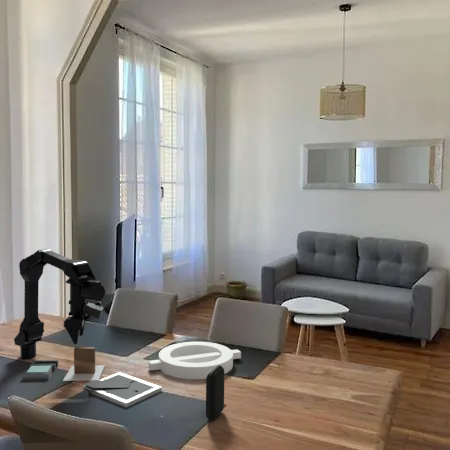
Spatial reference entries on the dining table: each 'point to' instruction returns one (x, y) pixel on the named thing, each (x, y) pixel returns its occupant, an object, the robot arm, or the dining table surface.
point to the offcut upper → (39, 369)
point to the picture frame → (122, 389)
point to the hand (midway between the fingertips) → (78, 339)
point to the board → (84, 377)
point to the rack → (40, 375)
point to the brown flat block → (84, 360)
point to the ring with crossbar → (194, 359)
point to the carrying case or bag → (214, 393)
